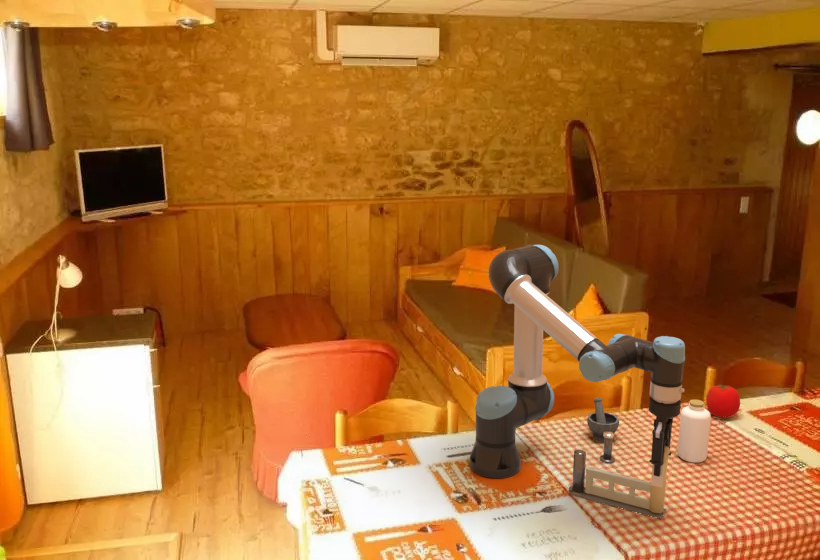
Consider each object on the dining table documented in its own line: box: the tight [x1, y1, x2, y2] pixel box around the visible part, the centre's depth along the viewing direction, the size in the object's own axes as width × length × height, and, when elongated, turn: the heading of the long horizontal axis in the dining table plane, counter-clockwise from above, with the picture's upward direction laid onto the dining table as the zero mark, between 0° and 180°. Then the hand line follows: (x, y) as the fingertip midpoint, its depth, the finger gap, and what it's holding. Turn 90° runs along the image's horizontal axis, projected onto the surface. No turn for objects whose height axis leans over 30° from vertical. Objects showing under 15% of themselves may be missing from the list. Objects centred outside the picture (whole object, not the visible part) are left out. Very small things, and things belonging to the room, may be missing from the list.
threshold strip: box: [571, 493, 667, 520], centre depth 192 cm, size 24×5×1 cm, turn 59°
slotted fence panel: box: [584, 446, 671, 513], centre depth 189 cm, size 21×4×18 cm, turn 59°
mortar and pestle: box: [586, 397, 620, 443], centre depth 228 cm, size 11×9×12 cm
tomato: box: [705, 383, 741, 419], centre depth 243 cm, size 10×11×11 cm
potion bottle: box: [677, 399, 712, 464], centre depth 214 cm, size 8×8×18 cm
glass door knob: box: [599, 432, 616, 464], centre depth 214 cm, size 4×4×9 cm
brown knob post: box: [568, 449, 587, 498], centre depth 196 cm, size 5×5×12 cm
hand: (658, 481), depth 185 cm, fingers closed on slotted fence panel, 4 cm apart
